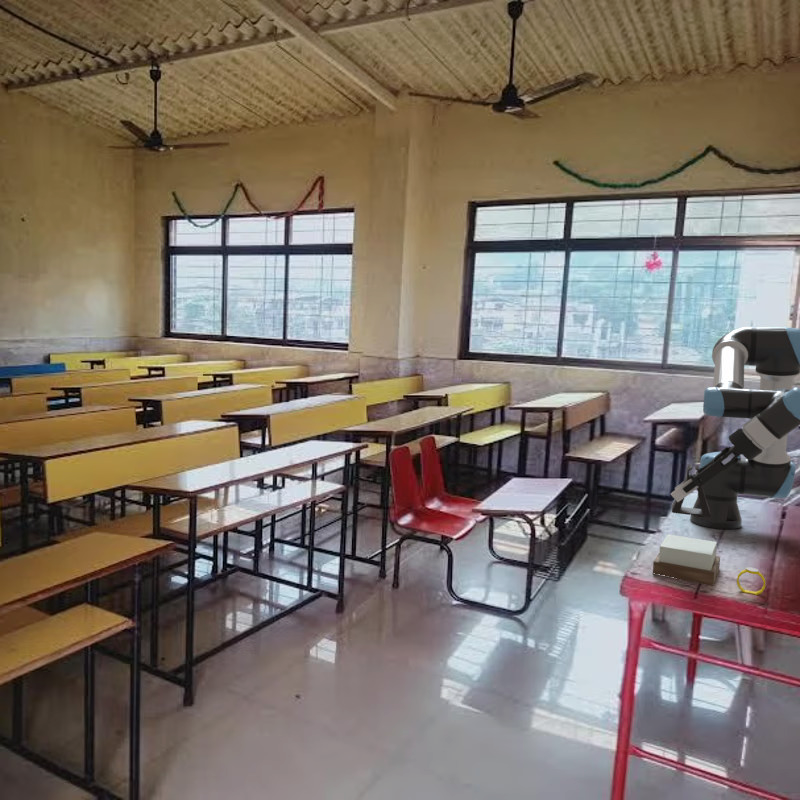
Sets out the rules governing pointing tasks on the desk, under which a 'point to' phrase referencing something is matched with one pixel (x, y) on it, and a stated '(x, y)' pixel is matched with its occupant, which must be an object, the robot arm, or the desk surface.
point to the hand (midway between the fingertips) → (676, 494)
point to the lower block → (687, 571)
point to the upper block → (688, 552)
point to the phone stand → (704, 505)
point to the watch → (752, 571)
